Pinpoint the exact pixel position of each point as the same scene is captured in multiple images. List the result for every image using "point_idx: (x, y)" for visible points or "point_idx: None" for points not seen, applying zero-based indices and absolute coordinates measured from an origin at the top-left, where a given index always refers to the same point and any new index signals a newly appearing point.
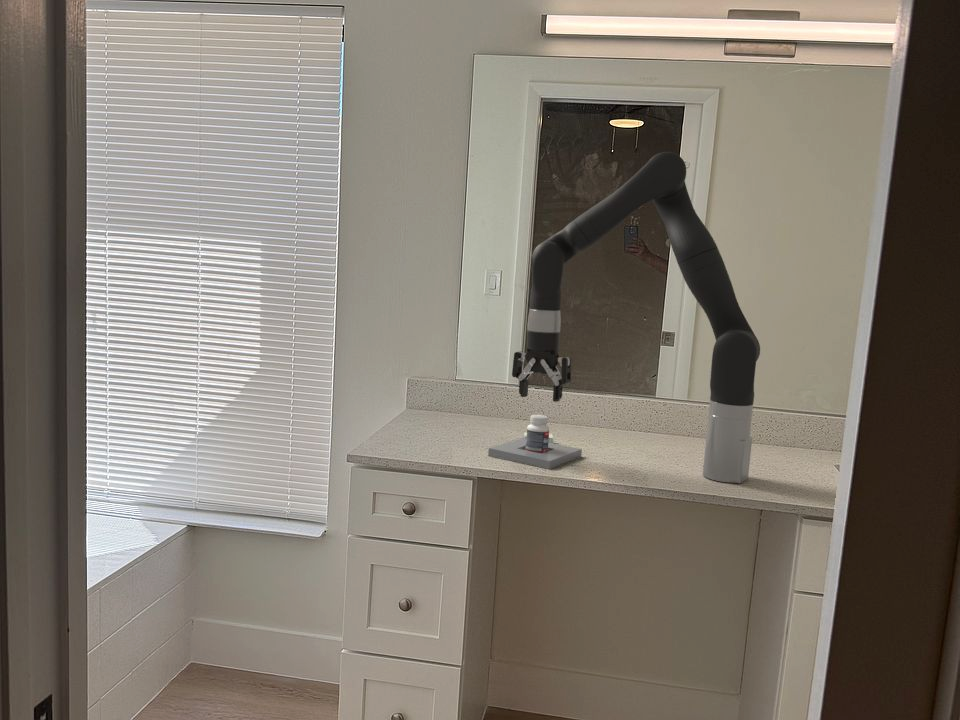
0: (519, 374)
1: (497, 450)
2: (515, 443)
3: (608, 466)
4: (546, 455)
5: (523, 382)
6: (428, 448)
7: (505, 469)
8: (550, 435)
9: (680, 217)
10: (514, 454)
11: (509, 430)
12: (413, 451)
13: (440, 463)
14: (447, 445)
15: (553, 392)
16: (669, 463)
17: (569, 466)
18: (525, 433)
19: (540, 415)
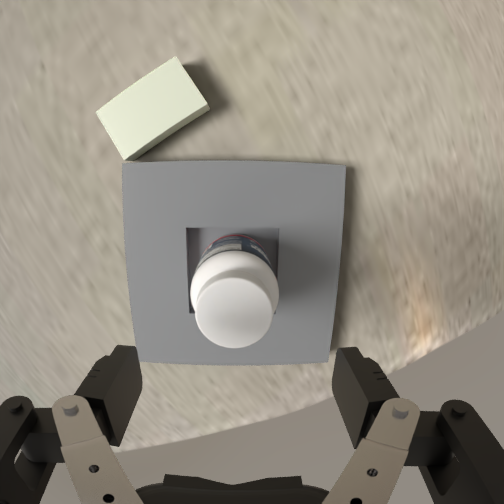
0: (63, 459)
1: (166, 362)
2: (150, 260)
3: (427, 215)
4: (297, 321)
5: (119, 442)
6: (35, 373)
7: (245, 414)
8: (182, 79)
9: None
10: (220, 363)
11: (32, 55)
12: (43, 406)
13: (131, 446)
14: (30, 327)
15: (345, 420)
16: (496, 90)
17: (354, 292)
18: (106, 124)
19: (225, 289)
